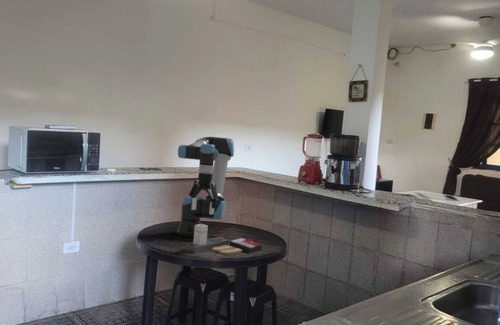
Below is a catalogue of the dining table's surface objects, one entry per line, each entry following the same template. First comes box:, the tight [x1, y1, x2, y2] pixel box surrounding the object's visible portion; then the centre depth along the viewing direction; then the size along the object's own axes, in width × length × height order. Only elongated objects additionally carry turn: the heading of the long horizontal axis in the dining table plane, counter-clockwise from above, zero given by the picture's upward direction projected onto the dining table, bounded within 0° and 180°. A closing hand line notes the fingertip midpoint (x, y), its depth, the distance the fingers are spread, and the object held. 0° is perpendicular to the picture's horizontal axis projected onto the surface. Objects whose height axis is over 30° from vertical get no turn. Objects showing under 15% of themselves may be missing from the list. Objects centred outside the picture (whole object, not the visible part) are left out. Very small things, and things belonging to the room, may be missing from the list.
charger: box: [192, 223, 209, 246], centre depth 223 cm, size 5×5×12 cm
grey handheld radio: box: [184, 236, 230, 254], centre depth 230 cm, size 32×8×4 cm, turn 142°
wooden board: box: [211, 244, 243, 256], centre depth 225 cm, size 12×12×1 cm
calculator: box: [228, 237, 262, 254], centre depth 233 cm, size 11×4×15 cm
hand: (202, 211), depth 222 cm, fingers open, 13 cm apart
